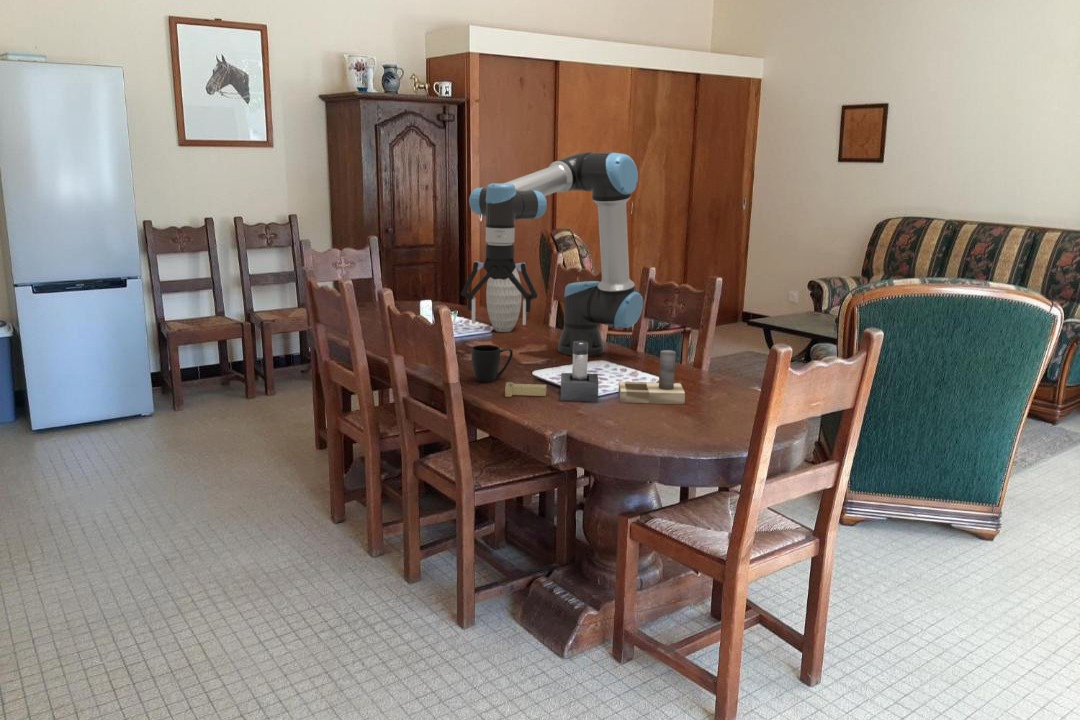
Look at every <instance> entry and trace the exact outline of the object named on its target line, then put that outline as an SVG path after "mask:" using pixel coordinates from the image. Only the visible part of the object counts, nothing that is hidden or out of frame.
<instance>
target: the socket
mask: <svg viewBox="0 0 1080 720" xmlns="http://www.w3.org/2000/svg"><path fill="white" fill-rule="evenodd" d="M599 383H600V382H599V376H598V373H587V381H572V372H561V373H560V399H559V400H560V402H590V403H591V402H592V403H593V402H597V403H598V401H599V386H600V385H599Z"/></svg>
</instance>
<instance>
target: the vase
mask: <svg viewBox="0 0 1080 720" xmlns="http://www.w3.org/2000/svg"><path fill="white" fill-rule="evenodd" d="M512 273H513V275H514V276H515V277H516V279H517V280H518V281H519V282H520V284H521V285H522V282H521V277H520V275H519V270H518V268H515V270H514V271H513V272H512ZM485 293H486V294H485V295H486V296H485V297H486V309H487V314H488V318H489V320H490V323H491V325H492V328H493V329H494V330H495V331H496V332H498V333H509V332H510V333H511V332H512V331H513V329H514V328H515V326H516V324H517V322H518V320H519V316H520V313H521V307H522V294H521V293H520V291H519V290H518V289H517V288H516V286H515V285H514V284H513V283H512V282H511V281H510V279H509V278H507V279H505V280H502V279H492V278H491V277H490V278H489V279H488V280H487V281H486V292H485Z"/></svg>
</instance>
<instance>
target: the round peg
mask: <svg viewBox="0 0 1080 720" xmlns="http://www.w3.org/2000/svg"><path fill="white" fill-rule="evenodd" d="M588 359H589V356H588V342H586V341H574V342H573V356H572V370H571V371H572V372H571V373H572V381H587V374H588Z"/></svg>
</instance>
